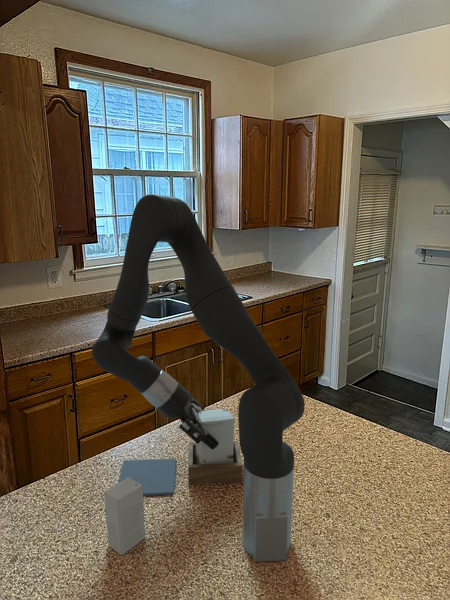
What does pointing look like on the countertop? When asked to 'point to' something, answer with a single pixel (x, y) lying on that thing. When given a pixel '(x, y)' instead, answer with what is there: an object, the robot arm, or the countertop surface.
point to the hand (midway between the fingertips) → (215, 436)
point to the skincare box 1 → (124, 515)
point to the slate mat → (151, 475)
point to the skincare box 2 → (216, 437)
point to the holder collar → (214, 469)
